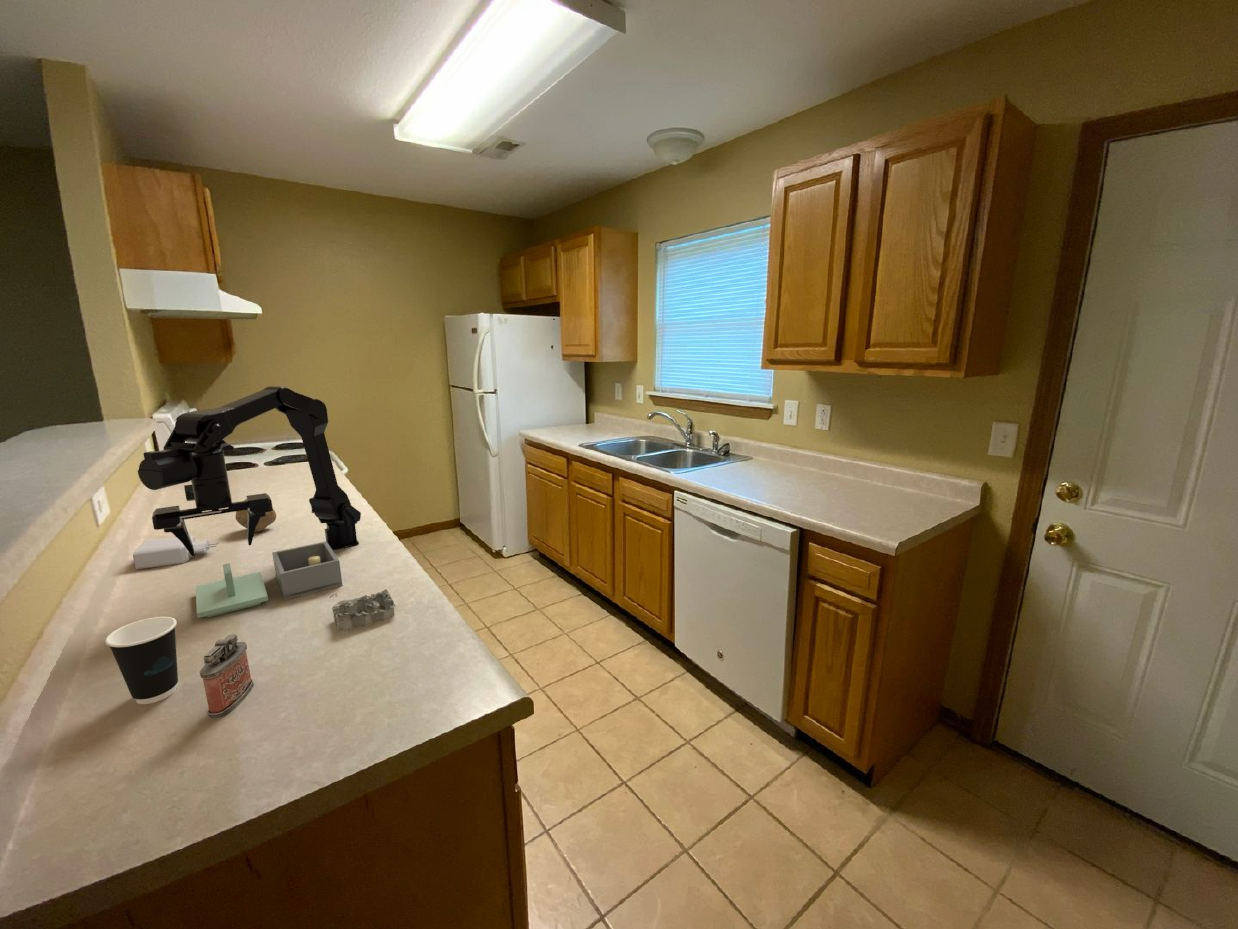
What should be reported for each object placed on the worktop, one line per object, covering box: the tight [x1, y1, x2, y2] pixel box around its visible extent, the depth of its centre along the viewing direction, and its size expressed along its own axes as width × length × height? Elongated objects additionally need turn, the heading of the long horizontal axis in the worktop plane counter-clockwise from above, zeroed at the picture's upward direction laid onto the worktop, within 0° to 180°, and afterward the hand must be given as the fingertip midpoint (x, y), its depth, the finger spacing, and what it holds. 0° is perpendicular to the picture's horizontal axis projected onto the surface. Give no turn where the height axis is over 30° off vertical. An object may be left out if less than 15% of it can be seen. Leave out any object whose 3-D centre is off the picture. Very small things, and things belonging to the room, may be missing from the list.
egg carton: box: [331, 588, 396, 632], centre depth 102 cm, size 11×8×4 cm
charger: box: [132, 534, 219, 570], centre depth 128 cm, size 5×9×15 cm
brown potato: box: [235, 498, 277, 533], centre depth 145 cm, size 9×9×10 cm
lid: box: [195, 563, 269, 619], centre depth 108 cm, size 11×14×7 cm
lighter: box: [199, 633, 255, 720], centre depth 78 cm, size 8×3×10 cm, turn 5°
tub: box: [271, 540, 343, 601], centre depth 116 cm, size 11×14×6 cm
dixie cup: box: [105, 616, 179, 705], centre depth 79 cm, size 8×8×11 cm
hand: (222, 550), depth 106 cm, fingers open, 9 cm apart
